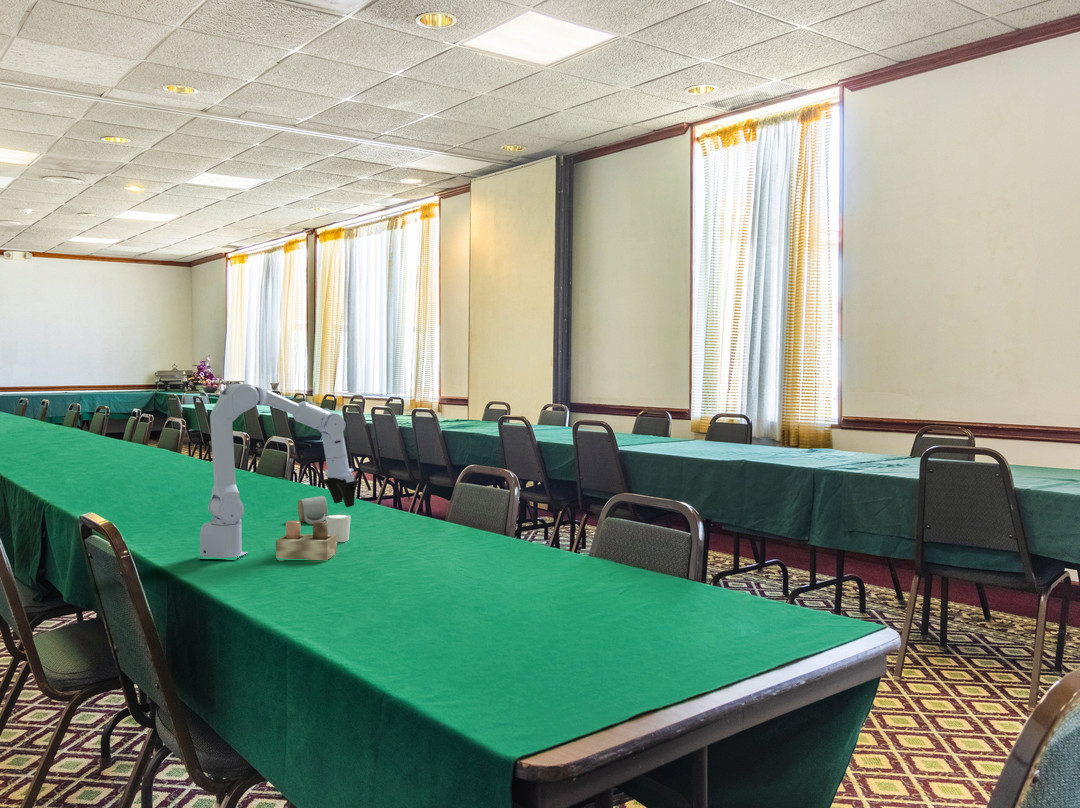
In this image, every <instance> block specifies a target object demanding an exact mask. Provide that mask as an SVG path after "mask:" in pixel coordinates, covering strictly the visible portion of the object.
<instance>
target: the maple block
mask: <svg viewBox="0 0 1080 808" xmlns="http://www.w3.org/2000/svg"><path fill="white" fill-rule="evenodd" d="M337 545H338V543H337V535H328V539H327V540H313V534H308V533H307V534H301V538H300V539H286V534H284V535H283V536H281V537H280V538H278V539H276V540H275V559H276V558H281V559H308V560H328V559H329V558H331V557H332V556H333V555H335V554H336V553H337V552H338V548H337V547H338V546H337ZM337 554H338V553H337ZM337 554H336V555H337ZM336 555H335V556H336ZM332 558H333V557H332ZM332 558H331V559H332ZM328 561H329V560H328Z"/></svg>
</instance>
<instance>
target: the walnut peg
mask: <svg viewBox="0 0 1080 808" xmlns="http://www.w3.org/2000/svg"><path fill="white" fill-rule="evenodd" d="M312 535H313V540H327V539H328V522H327V521H316V522H313V525H312Z"/></svg>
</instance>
